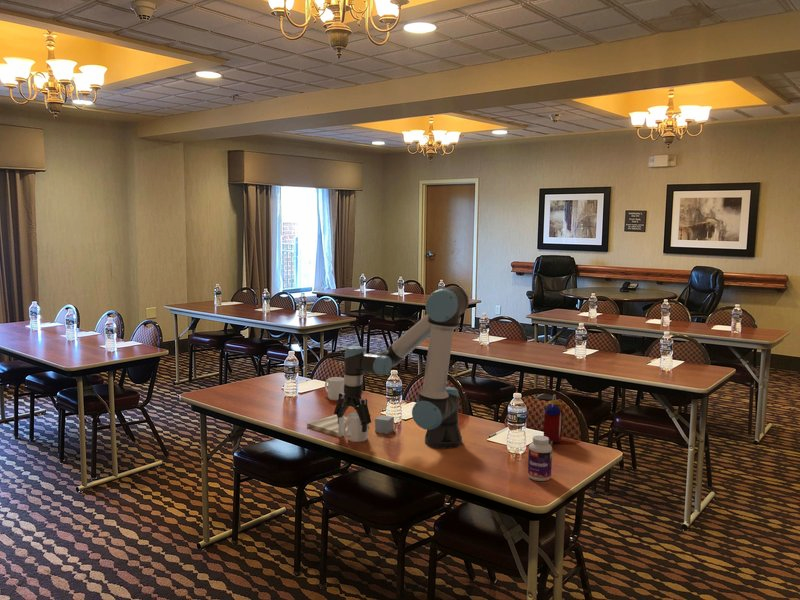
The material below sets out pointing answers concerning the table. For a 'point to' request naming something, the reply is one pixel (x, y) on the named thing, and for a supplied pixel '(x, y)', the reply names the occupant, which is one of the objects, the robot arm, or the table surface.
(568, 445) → the table surface
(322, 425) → the birch slab
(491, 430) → the table surface
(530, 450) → the pill bottle
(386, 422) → the grey cube
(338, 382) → the cup
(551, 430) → the red spray bottle
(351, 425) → the mug
